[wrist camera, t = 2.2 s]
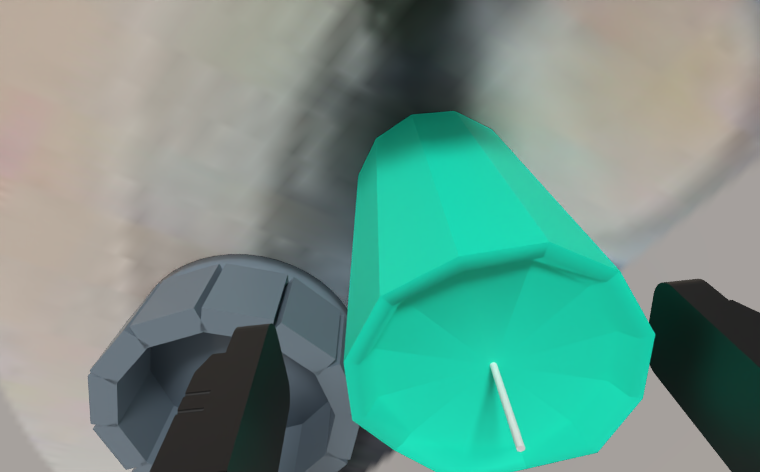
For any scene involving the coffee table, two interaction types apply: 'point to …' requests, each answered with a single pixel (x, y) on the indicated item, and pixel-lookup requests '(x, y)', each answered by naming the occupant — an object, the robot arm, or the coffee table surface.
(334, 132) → the coffee table surface
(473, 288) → the candle
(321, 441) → the candle dish
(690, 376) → the robot arm
